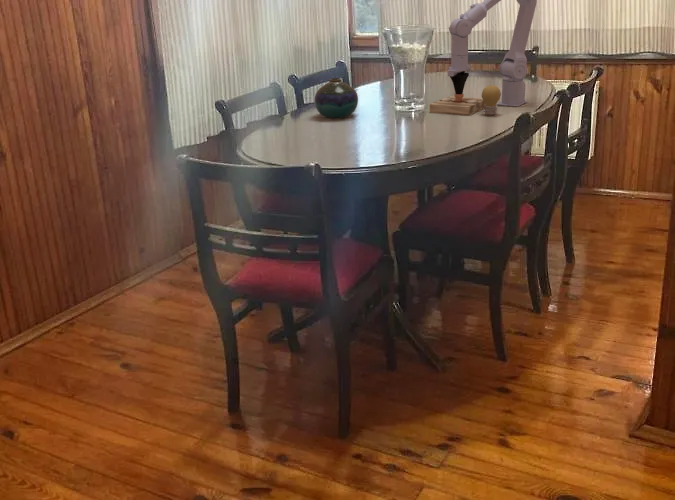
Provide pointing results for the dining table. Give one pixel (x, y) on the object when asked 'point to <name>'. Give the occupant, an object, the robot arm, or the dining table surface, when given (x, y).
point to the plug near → (471, 101)
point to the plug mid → (458, 97)
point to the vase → (336, 99)
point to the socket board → (457, 106)
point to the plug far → (446, 99)
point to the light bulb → (491, 98)
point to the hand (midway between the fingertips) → (458, 93)
